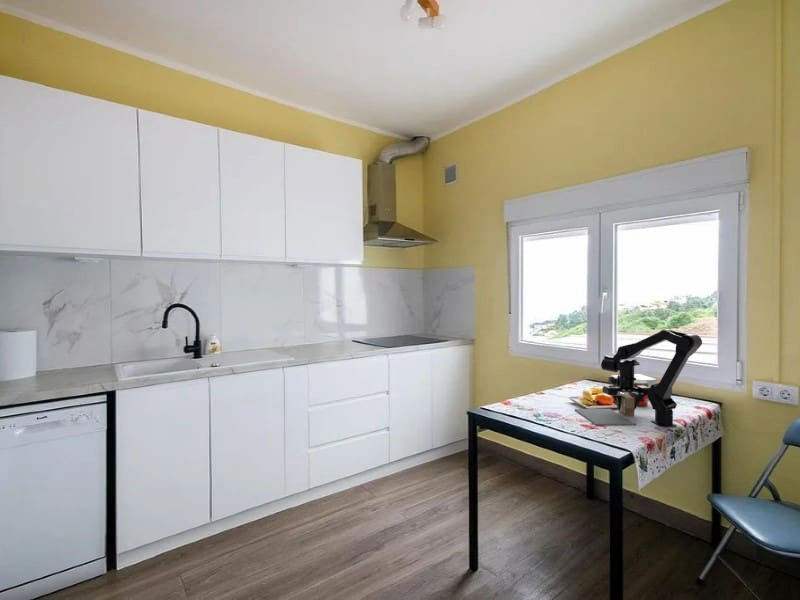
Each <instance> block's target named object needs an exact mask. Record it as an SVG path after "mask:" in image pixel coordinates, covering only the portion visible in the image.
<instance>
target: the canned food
mask: <svg viewBox="0 0 800 600" xmlns="http://www.w3.org/2000/svg"><path fill="white" fill-rule="evenodd" d="M638 385H644V386H646V387H648V382H647V381H644V380H638V379H636V380H634V387H635V386H638ZM643 395H644V394H643ZM629 396H631V397H633V396H632V393H631V392H629ZM647 396H648V395H645V397H643V398H642V399H641V401H640V402H639V404H638V405H637V407H647V406H648V404H649V403H648V402H649V400H648V398H647Z"/></svg>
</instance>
